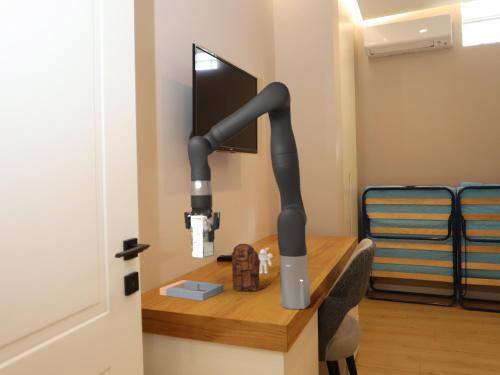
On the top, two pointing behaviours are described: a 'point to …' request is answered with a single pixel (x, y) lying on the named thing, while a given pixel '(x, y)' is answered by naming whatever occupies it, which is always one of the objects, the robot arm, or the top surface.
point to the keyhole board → (181, 290)
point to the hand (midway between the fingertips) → (202, 241)
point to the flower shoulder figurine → (264, 260)
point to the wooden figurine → (245, 268)
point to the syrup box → (201, 237)
